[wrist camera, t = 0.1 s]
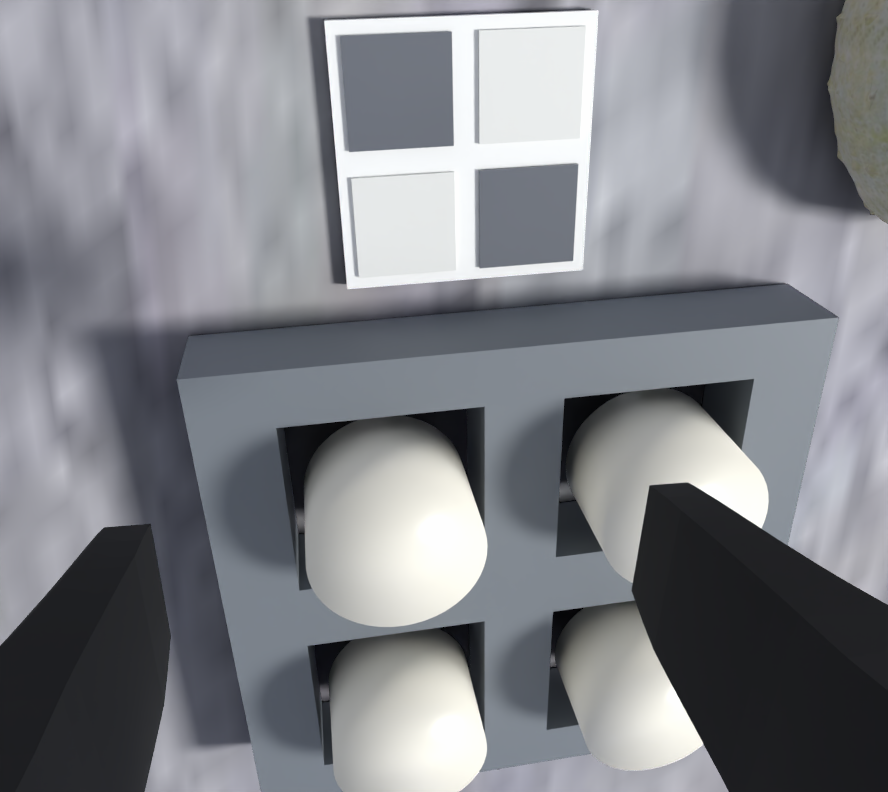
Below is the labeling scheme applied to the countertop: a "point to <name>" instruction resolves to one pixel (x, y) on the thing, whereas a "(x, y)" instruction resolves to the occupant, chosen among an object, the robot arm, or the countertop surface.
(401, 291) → the countertop surface
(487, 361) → the board
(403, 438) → the button
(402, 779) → the button
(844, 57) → the sea urchin shell
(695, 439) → the button
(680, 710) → the button
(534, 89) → the tile
